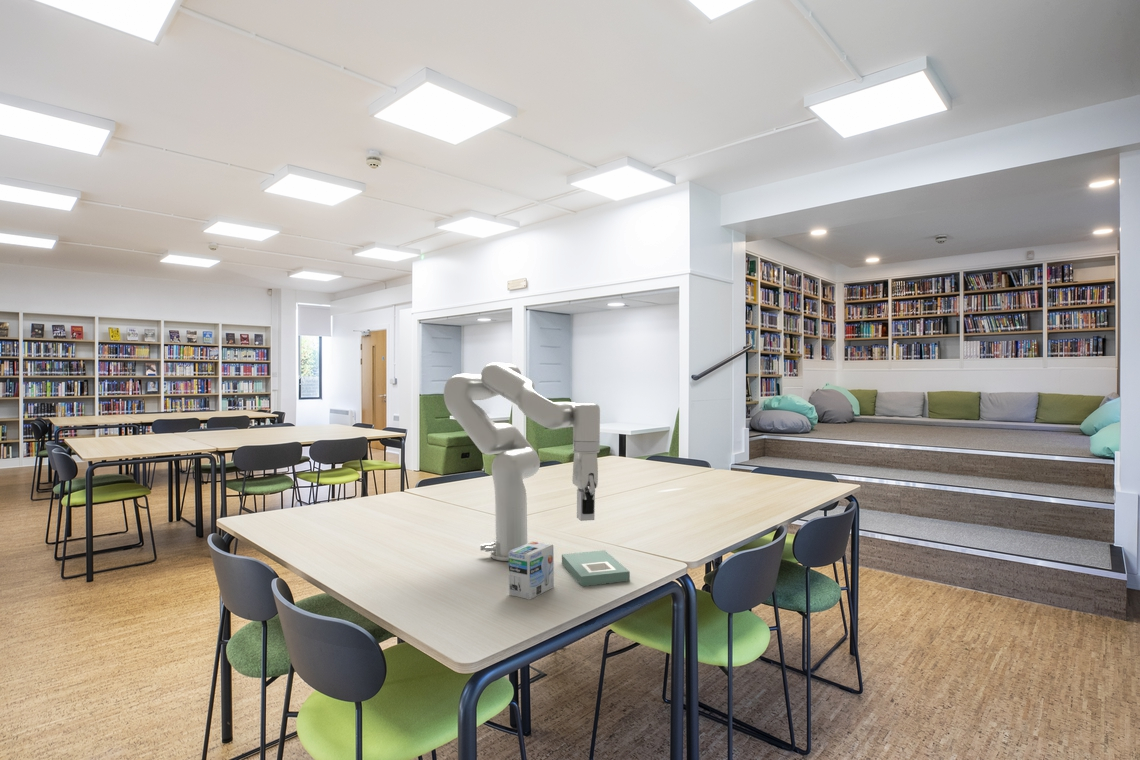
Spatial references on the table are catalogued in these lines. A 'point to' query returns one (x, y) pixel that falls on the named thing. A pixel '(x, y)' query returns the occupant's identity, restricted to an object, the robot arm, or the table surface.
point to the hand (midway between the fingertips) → (585, 511)
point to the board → (595, 568)
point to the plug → (579, 507)
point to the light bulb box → (531, 570)
